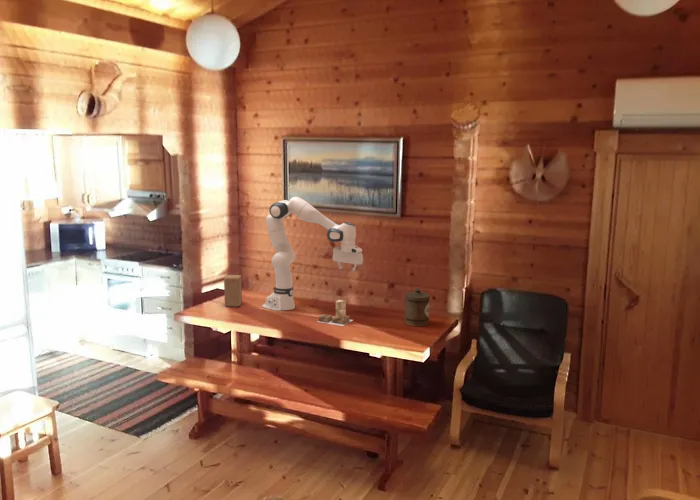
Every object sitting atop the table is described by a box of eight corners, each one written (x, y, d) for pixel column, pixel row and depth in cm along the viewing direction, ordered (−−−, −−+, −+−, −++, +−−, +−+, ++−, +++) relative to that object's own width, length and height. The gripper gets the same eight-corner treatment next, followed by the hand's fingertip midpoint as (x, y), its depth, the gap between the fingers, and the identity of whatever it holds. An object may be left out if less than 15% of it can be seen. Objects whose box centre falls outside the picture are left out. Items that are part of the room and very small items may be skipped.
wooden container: (431, 326, 360) (432, 290, 356) (408, 327, 357) (408, 291, 354) (424, 319, 374) (425, 285, 370) (401, 320, 372) (402, 285, 368)
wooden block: (239, 307, 398) (238, 277, 395) (224, 306, 399) (223, 277, 395) (242, 303, 408) (241, 274, 405) (227, 302, 408) (226, 274, 405)
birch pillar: (335, 317, 362) (335, 301, 360) (339, 315, 366) (339, 299, 364) (342, 318, 360) (342, 302, 358) (345, 316, 364) (345, 300, 362)
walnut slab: (331, 322, 361) (331, 317, 361) (338, 319, 368) (338, 314, 368) (343, 324, 358) (343, 319, 357) (349, 320, 365) (349, 316, 364)
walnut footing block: (318, 321, 364) (318, 316, 363) (323, 318, 369) (323, 313, 369) (327, 322, 361) (327, 317, 361) (331, 320, 366) (331, 315, 366)
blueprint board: (316, 323, 363) (316, 321, 363) (328, 317, 375) (328, 315, 375) (342, 328, 355) (342, 325, 355) (353, 321, 367) (353, 319, 367)
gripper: (331, 246, 377) (330, 268, 379) (360, 250, 367) (358, 272, 370) (336, 245, 382) (335, 266, 384) (364, 249, 373) (363, 271, 375)
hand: (346, 269), depth 377 cm, fingers open, 8 cm apart
